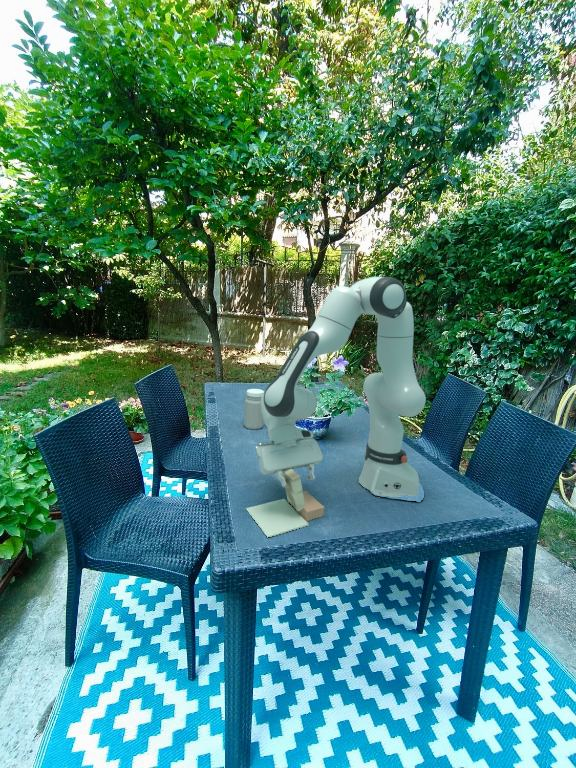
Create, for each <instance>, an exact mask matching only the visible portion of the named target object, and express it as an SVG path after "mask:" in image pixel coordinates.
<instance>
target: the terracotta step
mask: <svg viewBox="0 0 576 768" xmlns="http://www.w3.org/2000/svg"><path fill="white" fill-rule="evenodd" d="M302 491H303V496H304V502H305V508H303V509H302V510H300V511H297V510H296V511H297V512H298V513H299V514H300V515H301V517H302V518H303V519H304V520H305V521H306V522H309V521H312V519H313V520H315V518H316V519H319V518H322V516H323V517H324V513H325V506H324V505H323V504H321V502H319V501H318V500H317V499H316V498H315V497H314V496H313V495H311V494H310V492H308V491H307V490H302ZM291 506H292V505H291ZM318 517H319V518H318Z"/></svg>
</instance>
